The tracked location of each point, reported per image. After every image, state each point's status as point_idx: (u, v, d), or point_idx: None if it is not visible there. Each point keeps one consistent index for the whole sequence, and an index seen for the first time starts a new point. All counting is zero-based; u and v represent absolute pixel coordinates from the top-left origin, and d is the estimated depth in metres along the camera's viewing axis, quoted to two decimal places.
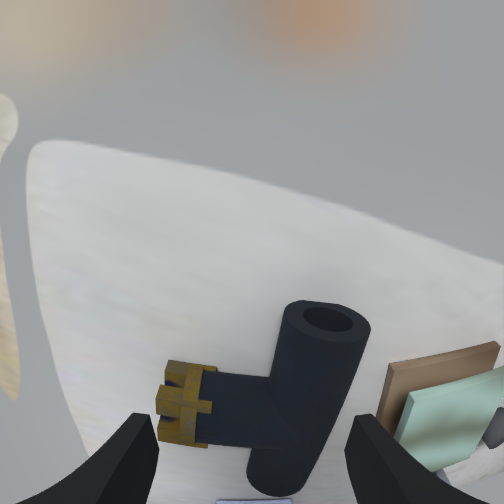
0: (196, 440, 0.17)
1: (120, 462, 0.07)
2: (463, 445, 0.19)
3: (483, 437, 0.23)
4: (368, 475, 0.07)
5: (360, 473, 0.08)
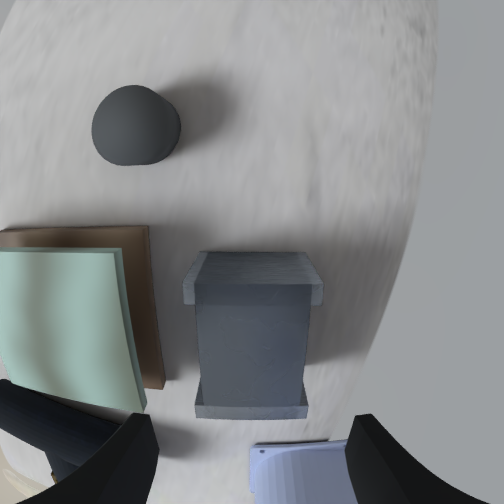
0: None
1: (120, 462, 0.07)
2: (69, 293, 0.14)
3: (148, 162, 0.15)
4: (368, 475, 0.07)
5: (360, 473, 0.08)
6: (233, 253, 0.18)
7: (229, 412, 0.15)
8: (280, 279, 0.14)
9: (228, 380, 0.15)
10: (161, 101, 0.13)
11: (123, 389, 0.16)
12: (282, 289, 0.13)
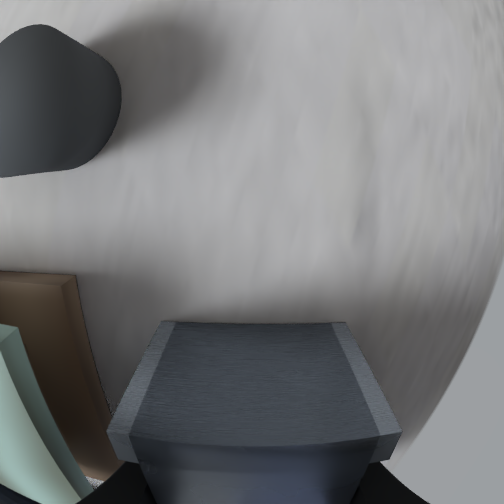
0: None
1: None
2: None
3: (56, 165, 0.07)
4: None
5: None
6: (219, 329, 0.10)
7: None
8: (313, 421, 0.06)
9: None
10: (66, 44, 0.05)
11: (70, 502, 0.08)
12: (319, 449, 0.05)
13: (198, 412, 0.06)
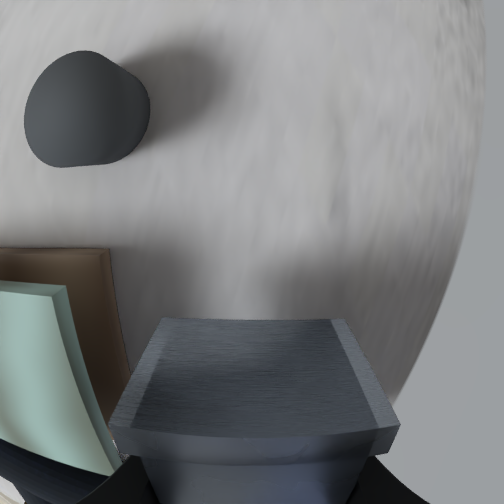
0: None
1: None
2: (9, 342, 0.09)
3: (101, 160, 0.10)
4: None
5: None
6: (219, 324, 0.10)
7: None
8: (312, 414, 0.06)
9: None
10: (114, 69, 0.08)
11: (90, 453, 0.11)
12: (318, 442, 0.05)
13: (199, 405, 0.06)
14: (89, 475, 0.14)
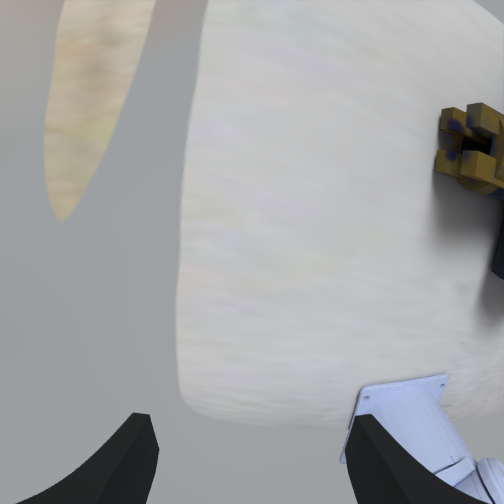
0: None
1: (120, 462, 0.07)
2: None
3: None
4: (368, 475, 0.07)
5: (360, 473, 0.08)
6: None
7: None
8: None
9: None
10: None
11: None
12: None
13: None
14: None
